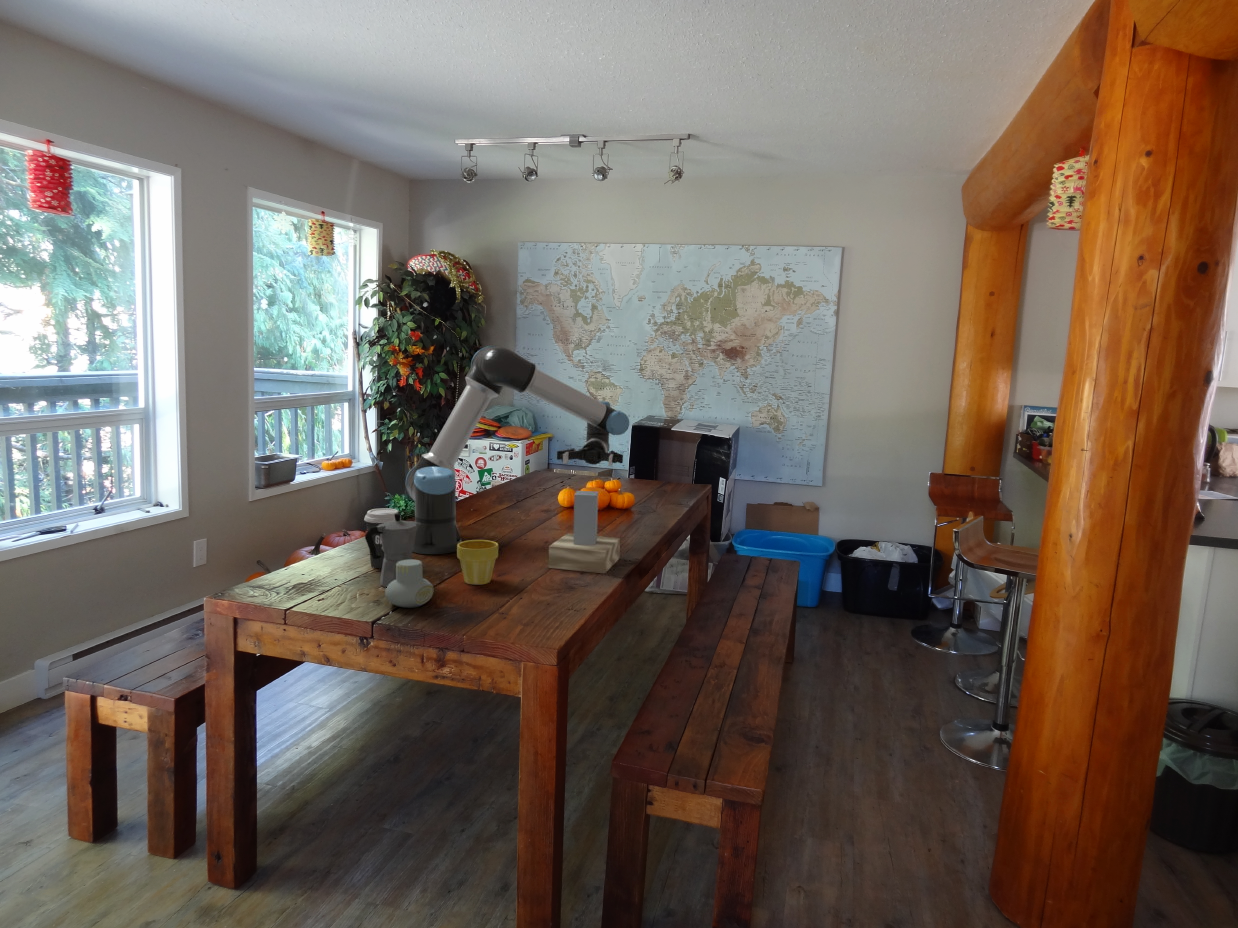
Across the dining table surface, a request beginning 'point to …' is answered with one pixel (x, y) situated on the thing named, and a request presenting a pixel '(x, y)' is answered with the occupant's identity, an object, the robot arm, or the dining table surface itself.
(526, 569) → the dining table surface
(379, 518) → the coffee cup
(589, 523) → the slate block
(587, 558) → the birch block
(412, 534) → the coffeepot
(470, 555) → the plant pot
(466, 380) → the robot arm
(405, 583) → the air freshener
